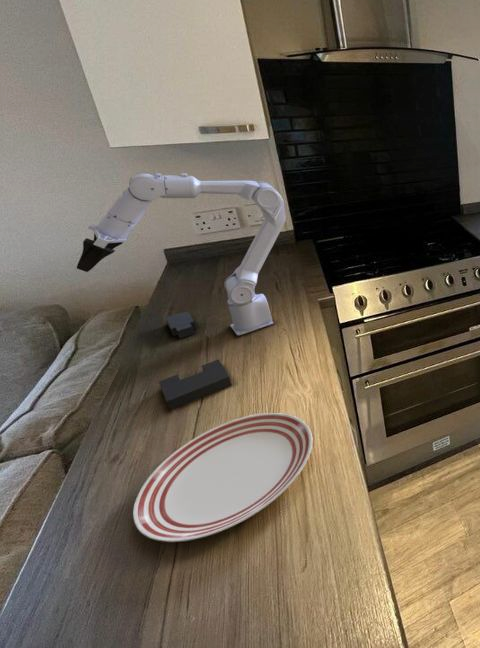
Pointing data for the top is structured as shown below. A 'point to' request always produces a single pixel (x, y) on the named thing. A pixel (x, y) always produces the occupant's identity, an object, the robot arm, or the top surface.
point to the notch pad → (195, 385)
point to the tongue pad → (181, 324)
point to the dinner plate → (222, 477)
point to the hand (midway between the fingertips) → (86, 265)
